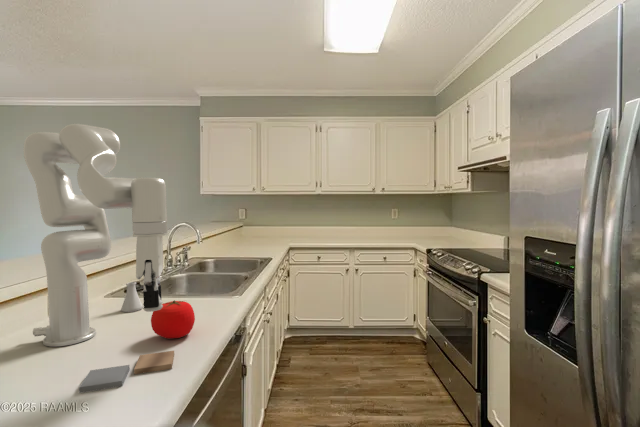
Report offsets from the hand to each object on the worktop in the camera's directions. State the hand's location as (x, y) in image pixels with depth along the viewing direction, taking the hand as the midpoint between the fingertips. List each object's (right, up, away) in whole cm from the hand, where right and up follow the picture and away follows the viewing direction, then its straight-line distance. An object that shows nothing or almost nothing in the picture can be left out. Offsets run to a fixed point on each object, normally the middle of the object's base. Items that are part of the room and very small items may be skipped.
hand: (153, 303), depth 87 cm
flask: (-29, -14, +46) cm, 56 cm away
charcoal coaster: (-7, -15, -7) cm, 18 cm away
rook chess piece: (0, -2, 0) cm, 2 cm away
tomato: (-2, -14, +19) cm, 24 cm away
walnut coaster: (0, -15, +1) cm, 15 cm away
